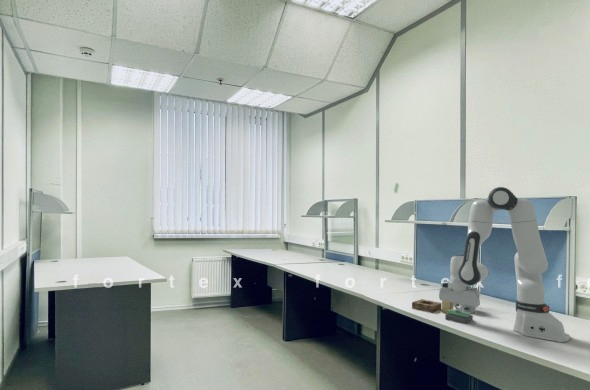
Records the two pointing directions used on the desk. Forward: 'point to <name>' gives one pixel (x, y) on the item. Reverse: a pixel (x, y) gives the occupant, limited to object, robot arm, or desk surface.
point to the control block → (458, 318)
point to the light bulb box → (468, 309)
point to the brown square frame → (426, 305)
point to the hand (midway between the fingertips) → (458, 312)
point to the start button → (463, 314)
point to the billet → (446, 306)
